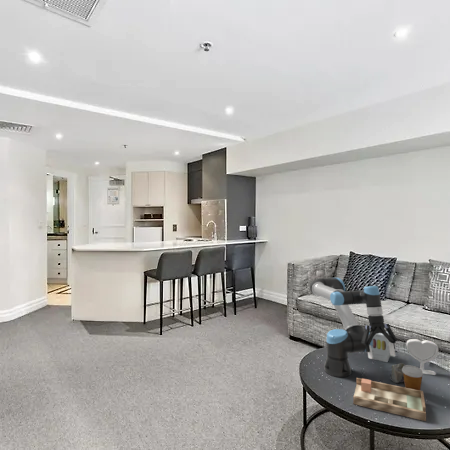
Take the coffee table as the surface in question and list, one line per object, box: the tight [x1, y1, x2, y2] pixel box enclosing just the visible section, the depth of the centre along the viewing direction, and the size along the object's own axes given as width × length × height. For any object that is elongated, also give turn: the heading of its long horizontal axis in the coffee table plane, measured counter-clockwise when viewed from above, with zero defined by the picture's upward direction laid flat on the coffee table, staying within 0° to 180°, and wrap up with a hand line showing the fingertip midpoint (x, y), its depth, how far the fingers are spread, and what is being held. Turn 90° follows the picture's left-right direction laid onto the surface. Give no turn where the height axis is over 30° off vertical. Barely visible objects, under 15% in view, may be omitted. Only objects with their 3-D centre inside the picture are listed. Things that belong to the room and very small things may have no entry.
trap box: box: [352, 377, 427, 422], centre depth 155 cm, size 30×16×6 cm, turn 62°
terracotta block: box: [361, 377, 372, 393], centre depth 163 cm, size 4×4×4 cm
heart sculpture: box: [406, 338, 439, 376], centre depth 185 cm, size 16×5×18 cm, turn 66°
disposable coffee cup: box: [402, 364, 424, 391], centre depth 164 cm, size 10×10×12 cm
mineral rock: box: [390, 362, 406, 384], centre depth 175 cm, size 13×11×10 cm
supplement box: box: [372, 330, 391, 363], centre depth 203 cm, size 10×9×17 cm
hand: (382, 357), depth 166 cm, fingers open, 13 cm apart
